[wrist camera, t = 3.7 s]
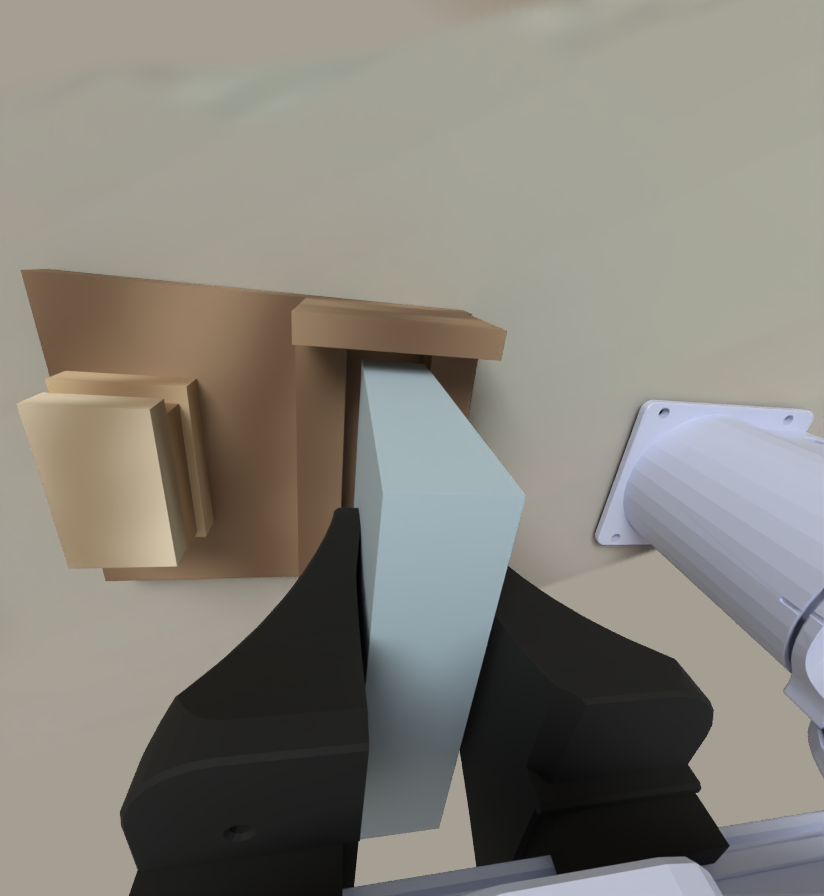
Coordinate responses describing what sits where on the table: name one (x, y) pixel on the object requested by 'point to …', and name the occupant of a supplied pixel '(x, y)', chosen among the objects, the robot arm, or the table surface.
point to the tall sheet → (423, 585)
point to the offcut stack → (121, 466)
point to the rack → (255, 394)
